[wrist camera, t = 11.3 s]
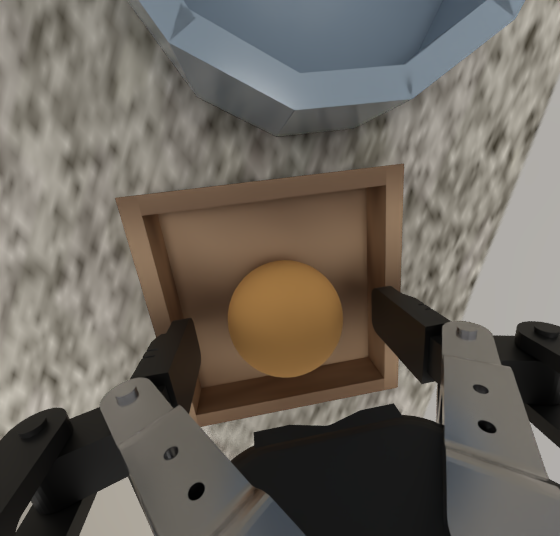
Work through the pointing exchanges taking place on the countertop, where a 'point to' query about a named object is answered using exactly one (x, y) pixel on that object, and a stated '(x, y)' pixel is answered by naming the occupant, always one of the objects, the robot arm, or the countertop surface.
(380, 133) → the countertop surface
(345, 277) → the tray
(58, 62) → the countertop surface
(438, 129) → the countertop surface
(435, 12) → the faceted grey bowl
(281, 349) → the ball
